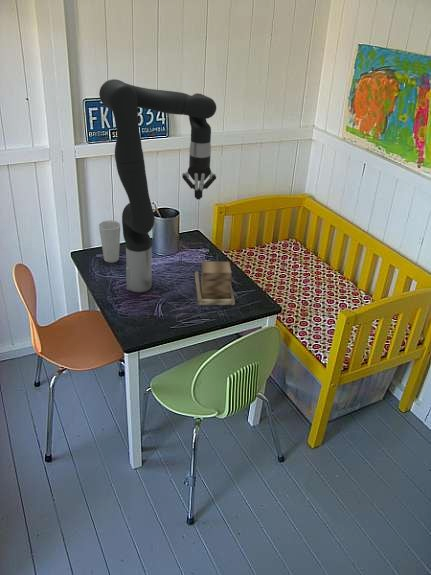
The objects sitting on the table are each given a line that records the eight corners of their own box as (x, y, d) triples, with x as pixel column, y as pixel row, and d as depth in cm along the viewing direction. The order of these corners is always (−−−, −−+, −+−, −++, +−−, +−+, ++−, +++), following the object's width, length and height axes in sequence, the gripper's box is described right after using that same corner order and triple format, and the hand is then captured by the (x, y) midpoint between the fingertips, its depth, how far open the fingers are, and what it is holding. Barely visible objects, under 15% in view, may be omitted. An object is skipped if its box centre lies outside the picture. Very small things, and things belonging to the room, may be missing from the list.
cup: (118, 253, 229) (117, 219, 220) (124, 262, 222) (123, 228, 214) (98, 256, 226) (96, 221, 217) (103, 265, 219) (101, 230, 211)
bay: (191, 308, 197) (191, 301, 195) (188, 278, 214) (188, 271, 213) (240, 307, 199) (241, 301, 197) (234, 278, 216) (234, 271, 215)
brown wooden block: (201, 301, 199) (203, 272, 192) (200, 289, 206) (201, 261, 199) (229, 301, 200) (231, 272, 194) (227, 289, 207) (229, 261, 200)
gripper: (181, 156, 190) (180, 202, 200) (219, 157, 192) (216, 203, 201) (181, 149, 197) (180, 194, 206) (217, 150, 198) (215, 195, 207)
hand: (198, 198), depth 203 cm, fingers closed
